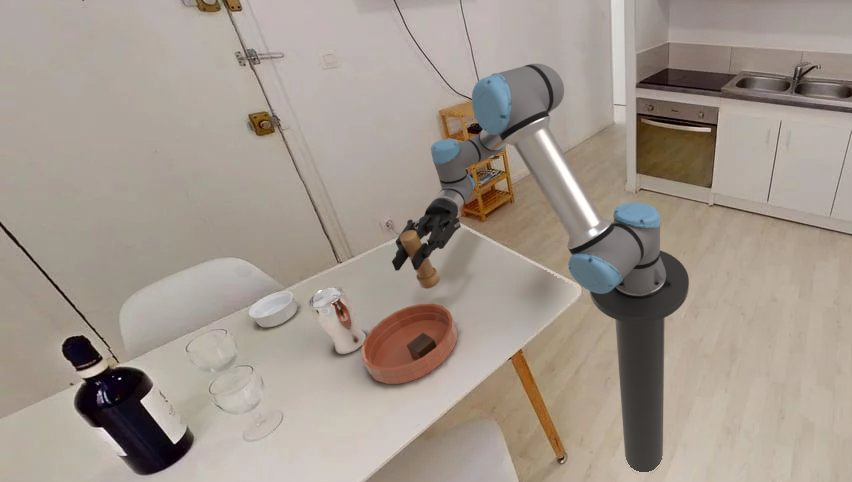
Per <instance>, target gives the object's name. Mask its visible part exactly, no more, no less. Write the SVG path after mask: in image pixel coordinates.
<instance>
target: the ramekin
mask: <svg viewBox="0 0 852 482" xmlns="http://www.w3.org/2000/svg"><path fill="white" fill-rule="evenodd" d="M297 310H298V304H297V302H296V300H295V297H294V293H293V292H291V291H287V290H282V291H281V290H280V291H277V292H273V293H271V294H270V293H269V294H268V295H266V296H263V297H262V298H260V299H259V300H257V301H256V302H254V303H253V304H252V306H251V307H250V308H249V310H248V312H247V314H248V316H249V317H250V318H251V319H252V320H254V321H255V322H256V323H257V324H258V326H260V327H262V328H273V327H276V326H279V325H281V324H284V323H285V322H287V321H289V320H290V319H291V318H293V316H294V315H295V314H296V313H297V312H298V311H297Z"/></svg>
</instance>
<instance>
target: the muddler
mask: <svg viewBox="0 0 852 482" xmlns="http://www.w3.org/2000/svg"><path fill="white" fill-rule="evenodd" d="M401 233H402V232H401ZM401 233H400V234H401ZM399 236H400V235H399ZM400 240H401V242H402V244H403V246H404V248H405V250H406V252H407V254H408V256H409V257H408V259H409V260H410V261H411V260H412V259H413V257H414V256H415V254H416V253H417V251H418V250H419V249H420V247H421V246H422V244H423V243H422V241H421V240H420V239H419V237H418V234H417V232H416V231H414V230H409V231H406V232H404V233H402V234H401V236H400ZM415 272H416V280H417V282H418V284H419V286H420V287H421V288H422V289H427V290H429V289H432V288H434V287H435V286H437V285H438V284H439V283H440V280H441V277H440V275H439V272H438V270H437V269H436V267H434V266H433V265H432V263H431V261H430V259H429V257H428V258H425V260H424V261H423V263H422V264H421V266H420V267H419V269H418V270H415Z"/></svg>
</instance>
